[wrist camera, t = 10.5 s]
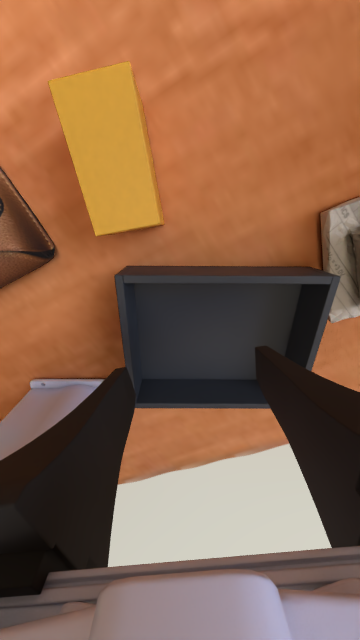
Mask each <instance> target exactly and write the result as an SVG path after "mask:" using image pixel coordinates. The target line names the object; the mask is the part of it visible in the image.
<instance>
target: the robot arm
mask: <svg viewBox="0 0 360 640" xmlns="http://www.w3.org/2000/svg"><path fill="white" fill-rule="evenodd" d="M255 362H256V378H257V381H258V383H259V386H260V388H261V391H262V393H263V395H264V397H265V399H266V401H267V402H268V404H269V406H270V408H271V410H272V412H273V413H274V415H275V417H276V419H277V420H278V422H279V424H280V426H281V428H282V429H283V431H284V433H285V435H286V437H287V439H288V441H289V443H290V446H291V448H292V450H293V453H294V455H295V457H296V459H297V462H298V464H299V466H300V469H301V471H302V474H303V476H304V478H305V481H306V483H307V485H308V488H309V490H310V493H311V495H312V498H313V500H314V503H315V505H316V508H317V510H318V513H319V516H320V518H321V521H322V523H323V526H324V529H325V531H326V534H327V537H328V539H329V542H330V544H331V547H332V548H328V549H316V550H305V551H293V552H281V553H270V554H259V555H246V556H235V557H223V558H211V559H199V560H188V561H177V562H164V563H153V564H141V565H129V566H118V567H108V558H109V548H110V537H111V529H112V521H113V512H114V505H115V498H116V491H117V484H118V478H119V472H120V466H121V460H122V456H123V452H124V448H125V444H126V440H127V437H128V433H129V429H130V425H131V422H132V418H133V414H134V408H135V401H136V393H135V390H134V387H133V384H132V381H131V378H130V375H129V372H128V369H127V367H124V368H117V369H115V370H114V371H113V372H112V373H111V374H110V375H109V376H108V377H107V378H106V379H33V380H31V381H30V386H31V390H30V391H29V392H28V393H27V394H26V395H25V396H24V397H23V398H22V399H21V400H20V402H19V403H18V404H17V405H16V406H15V407H14V408H13V409H12V410H11V411H10V412H9V413H8V415H7V416H6V417H5V418H4V419H3V420H2V421H1V422H0V640H360V392H357V391H355V390H352V389H349V388H347V387H344V386H342V385H339V384H337V383H335V382H332V381H330V380H328V379H325V378H323V377H321V376H319V375H317V374H315V373H313V372H311V371H309V370H307V369H305V368H303V367H302V366H300V365H298V364H296V363H295V362H293V361H291V360H289V359H288V358H286V357H284V356H283V355H281V354H280V353H278V352H276V351H275V350H273V349H272V348H270V347H268V346H259V347H255Z"/></svg>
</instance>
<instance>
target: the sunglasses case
mask: <svg viewBox="0 0 360 640" xmlns="http://www.w3.org/2000/svg"><path fill="white" fill-rule="evenodd" d="M54 252H55V247H54V244H53V242H52V241H51V239H50V238H49V236H48V235H47V233H46V231H45V230H44V228H43V227H42V225H41V224H40V222H39V221H38V219H37V218H36V216H35V215H34V213H33V212H32V211H31V209H30V208H29V206H28V205H27V203H26V202H25V201H24V199H23V198H22V196H21V195H20V194H19V192H18V191H17V190H16V188H15V187H14V186H13V184H12V183H11V182H10V180H9V179H8V177H7V176H6V175H5V173H4V172H3V171H2V169H1V168H0V288H1V287H3V286H5V285H7V284H9V283H11V282H13V281H15V280H17V279H18V278H20V277H22V276H24V275H26V274H28V273H30V272H32V271H34V270H35V269H37V268H39V267H41V266H42V265H44V264H45V263H47V262H48V261H50V260H51V259H52V258H53V257H54Z"/></svg>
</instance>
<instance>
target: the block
mask: <svg viewBox="0 0 360 640" xmlns="http://www.w3.org/2000/svg"><path fill="white" fill-rule="evenodd" d="M48 84H49V88H50V91H51V94H52V97H53V100H54V104H55V107H56V110H57V113H58V116H59V120H60V123H61V126H62V129H63V133H64V136H65V139H66V142H67V145H68V149H69V152H70V155H71V158H72V162H73V165H74V168H75V171H76V174H77V178H78V181H79V184H80V187H81V191H82V194H83V197H84V200H85V203H86V207H87V210H88V213H89V216H90V220H91V223H92V226H93V229H94V232H95V235H96V236H103V235H112V234H118V233H123V232H129V231H134V230H139V229H145V228H150V227H155V226H161V225H164V219H163V214H162V208H161V203H160V197H159V192H158V187H157V181H156V176H155V170H154V165H153V159H152V154H151V148H150V143H149V137H148V132H147V126H146V121H145V115H144V110H143V105H142V101H141V98H140V94H139V91H138V88H137V85H136V81H135V78H134V75H133V71H132V68H131V65H130V62H129V61H127V62H123V63H119V64H115V65H111V66H107V67H103V68H98V69H94V70H90V71H86V72H82V73H78V74H74V75H70V76H66V77H62V78H58V79H54V80H50V81H48Z"/></svg>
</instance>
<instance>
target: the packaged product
mask: <svg viewBox="0 0 360 640" xmlns="http://www.w3.org/2000/svg"><path fill="white" fill-rule="evenodd" d="M320 216H321V234H322V252H323V271H325V272H328V273H331V274H335V275H338V276H341V278H340V282H339V285H338V288H337V291H336V294H335V297H334V301H333V304H332V307H331V310H330V313H329V316H328V320H329V321H330V322H331V323H334V322H337V321H340V320H343V319H347V318H354V317H357V316H360V197H358V198H355V199H352V200H350V201H347V202H345V203H342V204H340V205H338V206H336V207H333V208H331V209H329V210H327V211H324V212H322V213H320Z"/></svg>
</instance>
